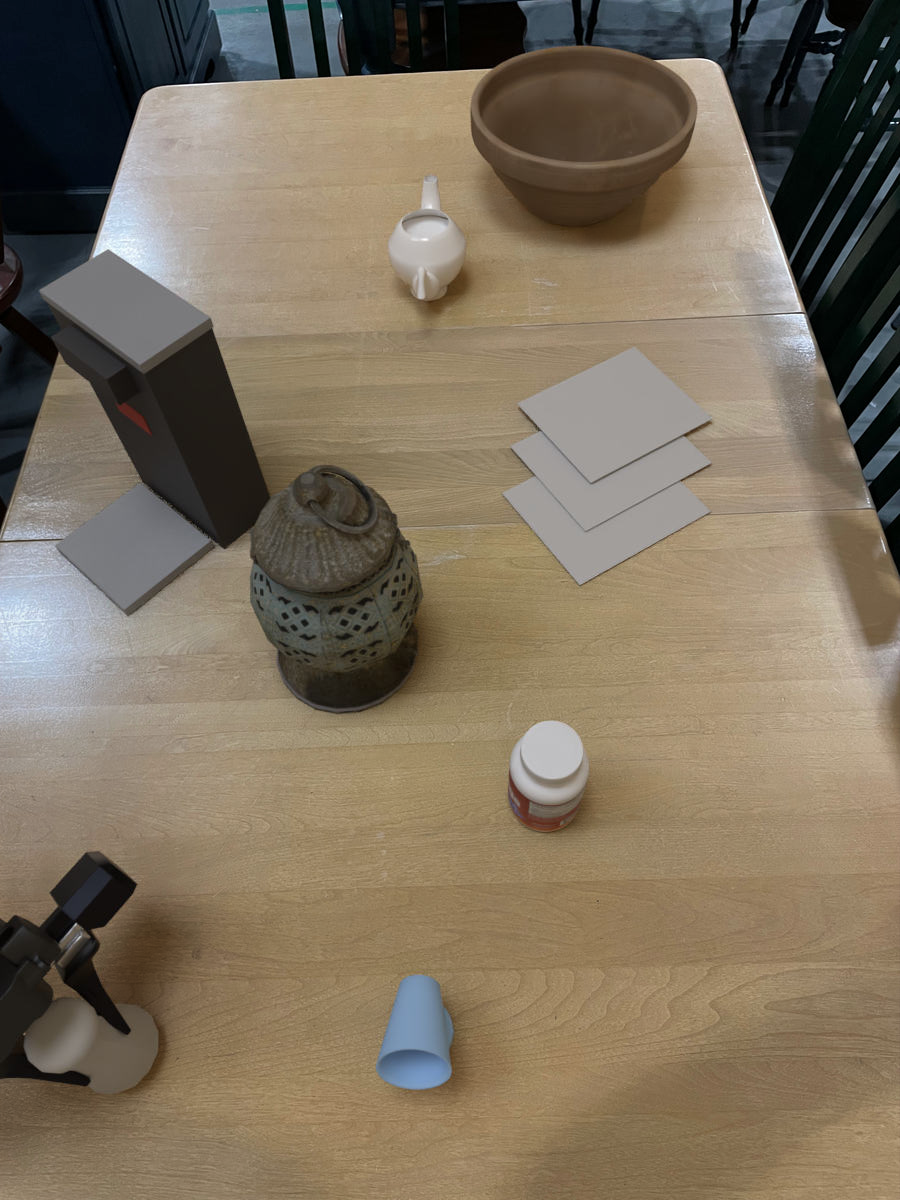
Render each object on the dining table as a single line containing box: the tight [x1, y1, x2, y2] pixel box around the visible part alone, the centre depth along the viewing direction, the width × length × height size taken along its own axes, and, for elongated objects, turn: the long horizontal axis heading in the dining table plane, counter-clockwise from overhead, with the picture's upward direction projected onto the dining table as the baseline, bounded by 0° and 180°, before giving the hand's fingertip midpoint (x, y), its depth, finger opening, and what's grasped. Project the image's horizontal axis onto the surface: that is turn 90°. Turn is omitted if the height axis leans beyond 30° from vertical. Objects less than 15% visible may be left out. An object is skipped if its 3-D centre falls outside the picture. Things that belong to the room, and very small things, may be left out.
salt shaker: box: [24, 996, 159, 1095], centre depth 58 cm, size 6×6×13 cm
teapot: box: [387, 174, 467, 302], centre depth 104 cm, size 10×20×9 cm, turn 177°
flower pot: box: [469, 45, 698, 227], centre depth 112 cm, size 28×28×13 cm
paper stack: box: [501, 346, 714, 586], centre depth 92 cm, size 23×25×1 cm
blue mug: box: [375, 974, 455, 1091], centre depth 59 cm, size 5×10×7 cm
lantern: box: [249, 464, 424, 715], centre depth 70 cm, size 14×14×25 cm
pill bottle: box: [507, 720, 590, 833], centre depth 68 cm, size 6×6×11 cm
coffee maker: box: [38, 248, 272, 616], centre depth 79 cm, size 19×14×25 cm
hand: (108, 1056), depth 57 cm, fingers closed on salt shaker, 3 cm apart
